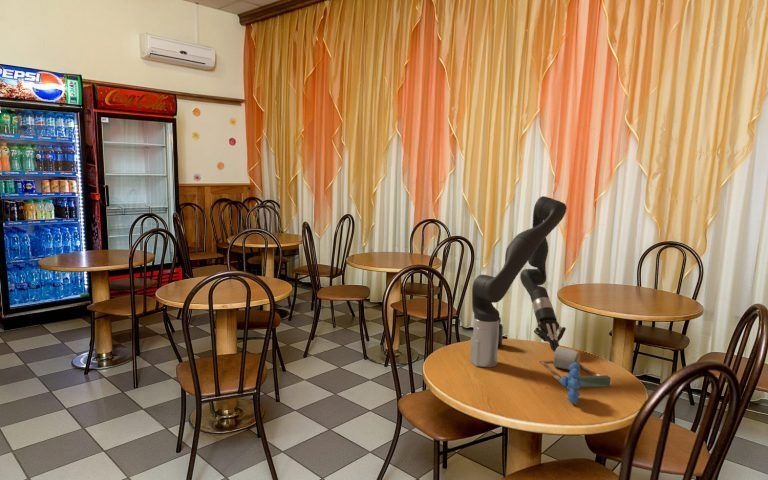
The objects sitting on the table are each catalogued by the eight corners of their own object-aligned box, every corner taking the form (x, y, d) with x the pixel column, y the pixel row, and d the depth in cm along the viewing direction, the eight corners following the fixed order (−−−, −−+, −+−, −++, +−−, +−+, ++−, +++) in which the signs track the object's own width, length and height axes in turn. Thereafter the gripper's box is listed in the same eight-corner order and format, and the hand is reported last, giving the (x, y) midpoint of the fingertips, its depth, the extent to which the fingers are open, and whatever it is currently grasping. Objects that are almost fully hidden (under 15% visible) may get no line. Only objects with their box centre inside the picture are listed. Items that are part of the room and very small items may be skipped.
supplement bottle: (504, 344, 205) (505, 316, 203) (498, 349, 199) (500, 320, 198) (488, 341, 208) (490, 314, 207) (482, 346, 203) (484, 317, 201)
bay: (536, 362, 186) (536, 354, 185) (578, 360, 188) (578, 353, 188) (565, 387, 163) (566, 379, 163) (613, 386, 165) (614, 377, 165)
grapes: (558, 391, 160) (560, 355, 159) (580, 394, 158) (582, 358, 157) (558, 406, 150) (560, 368, 148) (581, 410, 147) (584, 372, 146)
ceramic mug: (575, 374, 175) (577, 353, 174) (552, 369, 179) (553, 348, 178) (582, 366, 183) (584, 346, 182) (560, 361, 188) (561, 341, 187)
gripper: (531, 306, 194) (543, 346, 184) (562, 306, 196) (576, 346, 186) (525, 315, 200) (536, 355, 190) (555, 315, 202) (568, 354, 191)
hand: (556, 350), depth 188 cm, fingers closed
